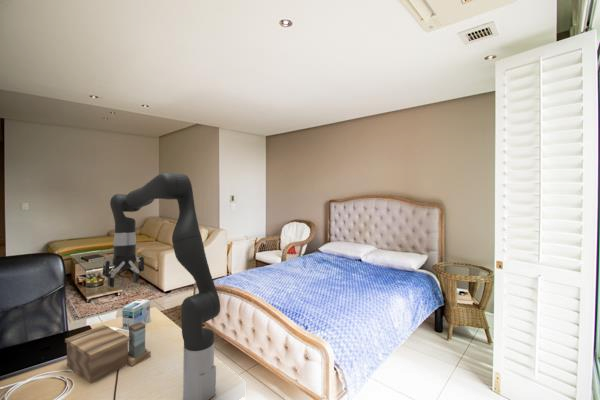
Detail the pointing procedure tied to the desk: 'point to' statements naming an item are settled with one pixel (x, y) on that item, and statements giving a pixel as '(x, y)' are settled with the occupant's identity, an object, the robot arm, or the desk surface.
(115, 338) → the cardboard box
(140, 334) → the grey block with cap
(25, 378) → the desk surface
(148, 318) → the light bulb box
